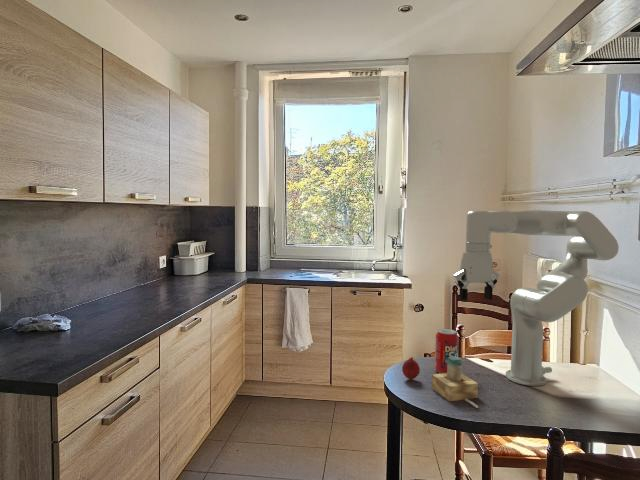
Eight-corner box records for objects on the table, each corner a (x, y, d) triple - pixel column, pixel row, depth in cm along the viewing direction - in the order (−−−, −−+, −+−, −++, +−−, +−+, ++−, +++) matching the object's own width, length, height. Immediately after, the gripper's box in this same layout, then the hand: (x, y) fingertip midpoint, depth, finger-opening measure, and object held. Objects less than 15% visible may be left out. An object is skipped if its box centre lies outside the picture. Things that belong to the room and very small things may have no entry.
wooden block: (457, 384, 138) (458, 371, 137) (477, 397, 128) (478, 383, 128) (431, 388, 135) (431, 374, 134) (449, 401, 125) (450, 386, 125)
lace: (464, 400, 125) (464, 398, 125) (467, 400, 126) (467, 398, 126) (476, 408, 120) (476, 406, 120) (478, 408, 121) (479, 405, 121)
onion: (419, 384, 138) (420, 360, 137) (401, 382, 139) (402, 359, 139) (419, 377, 144) (419, 354, 143) (402, 376, 145) (402, 353, 144)
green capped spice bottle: (454, 389, 134) (455, 356, 133) (460, 393, 131) (461, 359, 130) (446, 391, 133) (447, 357, 132) (452, 394, 130) (453, 360, 129)
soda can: (435, 367, 154) (437, 327, 153) (458, 370, 151) (459, 329, 150) (433, 374, 147) (434, 332, 146) (456, 377, 144) (458, 335, 143)
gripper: (491, 247, 143) (489, 296, 144) (448, 247, 138) (446, 298, 139) (507, 248, 136) (505, 300, 137) (462, 249, 131) (460, 303, 132)
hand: (475, 299), depth 138 cm, fingers open, 9 cm apart
